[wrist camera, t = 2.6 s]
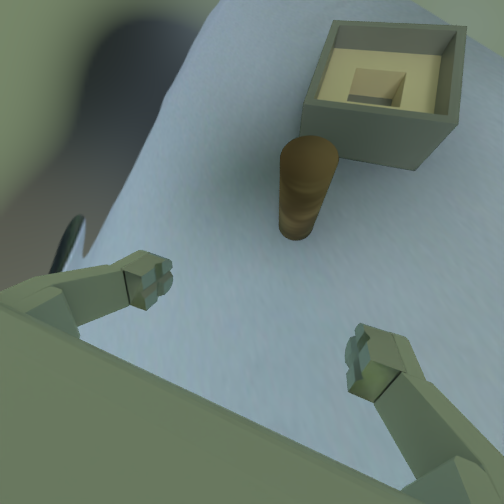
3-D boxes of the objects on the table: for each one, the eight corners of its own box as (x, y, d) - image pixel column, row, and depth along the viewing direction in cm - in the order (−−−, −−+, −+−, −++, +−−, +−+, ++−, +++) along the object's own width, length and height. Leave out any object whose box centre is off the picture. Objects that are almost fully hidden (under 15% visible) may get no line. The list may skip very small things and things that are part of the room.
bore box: (427, 87, 32) (466, 26, 25) (414, 170, 28) (458, 124, 21) (322, 76, 35) (333, 20, 28) (297, 150, 31) (303, 103, 24)
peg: (316, 214, 27) (344, 140, 16) (307, 244, 26) (331, 187, 15) (284, 206, 28) (289, 131, 17) (274, 235, 27) (273, 175, 16)
